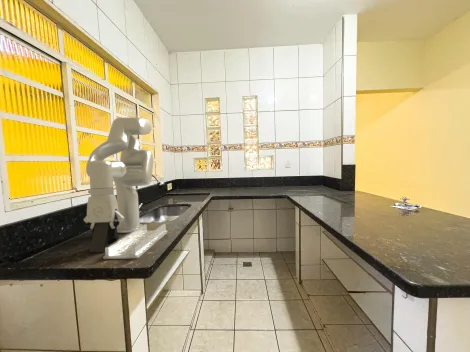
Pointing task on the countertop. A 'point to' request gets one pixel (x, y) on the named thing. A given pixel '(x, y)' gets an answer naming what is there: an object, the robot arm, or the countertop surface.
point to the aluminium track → (134, 243)
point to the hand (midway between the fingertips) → (105, 237)
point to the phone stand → (101, 237)
